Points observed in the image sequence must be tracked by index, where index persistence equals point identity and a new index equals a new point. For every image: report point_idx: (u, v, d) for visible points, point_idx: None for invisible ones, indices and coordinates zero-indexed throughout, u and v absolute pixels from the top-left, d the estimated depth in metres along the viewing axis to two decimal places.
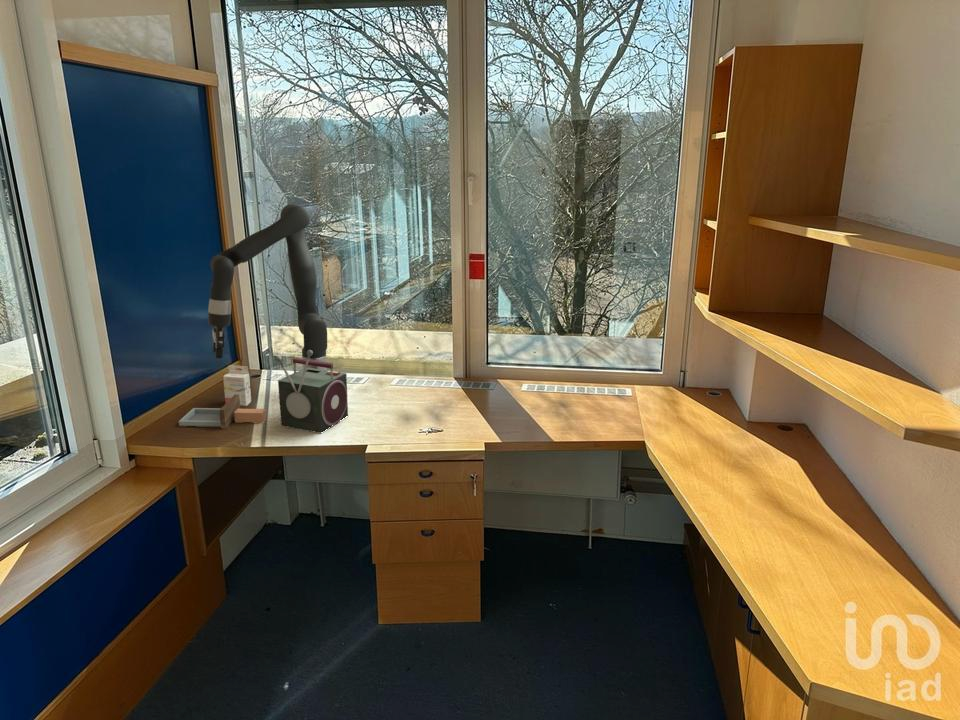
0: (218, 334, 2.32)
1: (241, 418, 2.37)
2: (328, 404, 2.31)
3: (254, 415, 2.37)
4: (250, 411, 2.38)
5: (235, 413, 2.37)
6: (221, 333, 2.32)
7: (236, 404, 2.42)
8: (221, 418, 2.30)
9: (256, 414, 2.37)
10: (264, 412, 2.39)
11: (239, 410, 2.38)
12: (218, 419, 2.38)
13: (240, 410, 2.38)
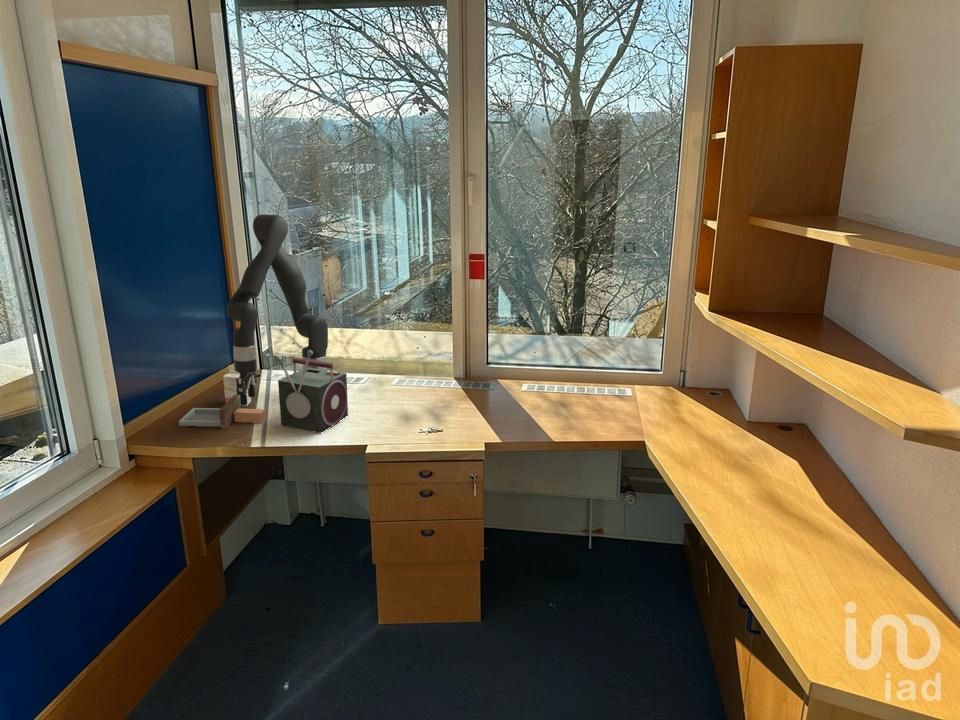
0: (237, 381, 2.28)
1: (240, 418, 2.37)
2: (328, 404, 2.31)
3: (253, 415, 2.37)
4: (250, 411, 2.38)
5: (235, 413, 2.37)
6: (240, 380, 2.28)
7: (236, 404, 2.42)
8: (221, 418, 2.30)
9: (256, 414, 2.36)
10: (264, 412, 2.39)
11: (239, 410, 2.39)
12: (218, 419, 2.38)
13: (240, 410, 2.38)
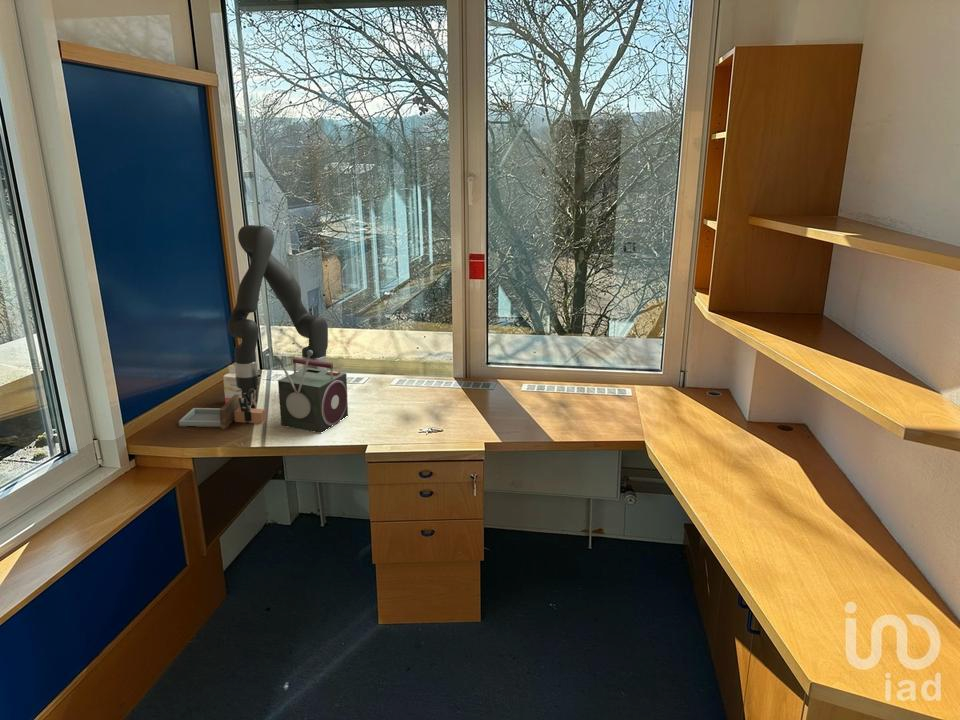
0: (240, 401, 2.30)
1: (240, 417, 2.37)
2: (328, 404, 2.31)
3: (253, 415, 2.36)
4: None
5: (235, 412, 2.37)
6: (242, 400, 2.30)
7: (236, 404, 2.42)
8: (221, 418, 2.30)
9: (255, 414, 2.36)
10: (264, 412, 2.38)
11: (240, 409, 2.39)
12: (218, 419, 2.38)
13: (240, 409, 2.38)
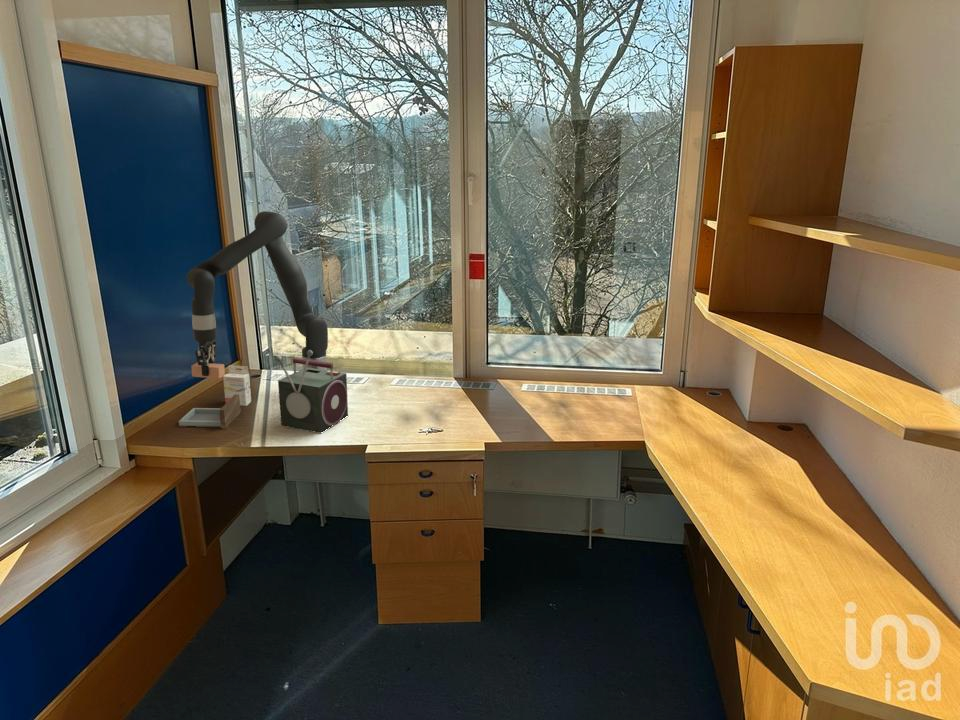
0: (196, 354, 2.25)
1: (198, 372, 2.31)
2: (328, 404, 2.31)
3: (210, 369, 2.31)
4: (208, 365, 2.32)
5: (192, 366, 2.31)
6: (199, 353, 2.24)
7: (236, 404, 2.42)
8: (221, 418, 2.30)
9: (213, 368, 2.30)
10: (222, 367, 2.33)
11: (197, 364, 2.33)
12: (218, 419, 2.38)
13: None
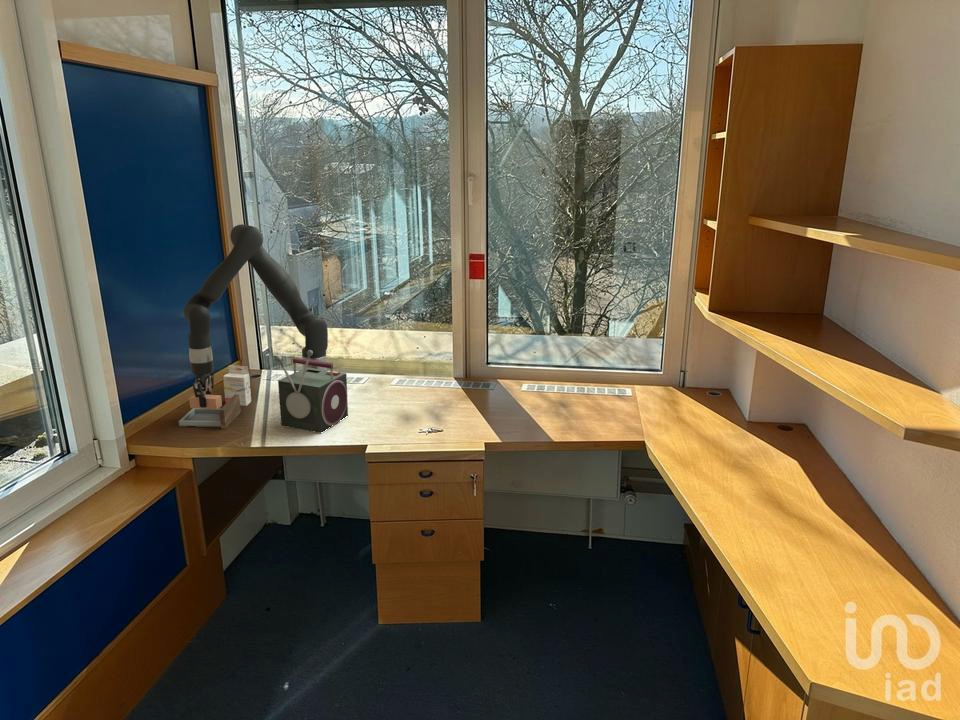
0: (193, 387, 2.29)
1: (195, 403, 2.35)
2: (328, 404, 2.31)
3: (208, 401, 2.35)
4: None
5: (190, 398, 2.35)
6: (196, 386, 2.28)
7: (236, 404, 2.42)
8: (221, 418, 2.30)
9: (210, 400, 2.34)
10: (219, 398, 2.37)
11: None
12: (218, 419, 2.38)
13: None
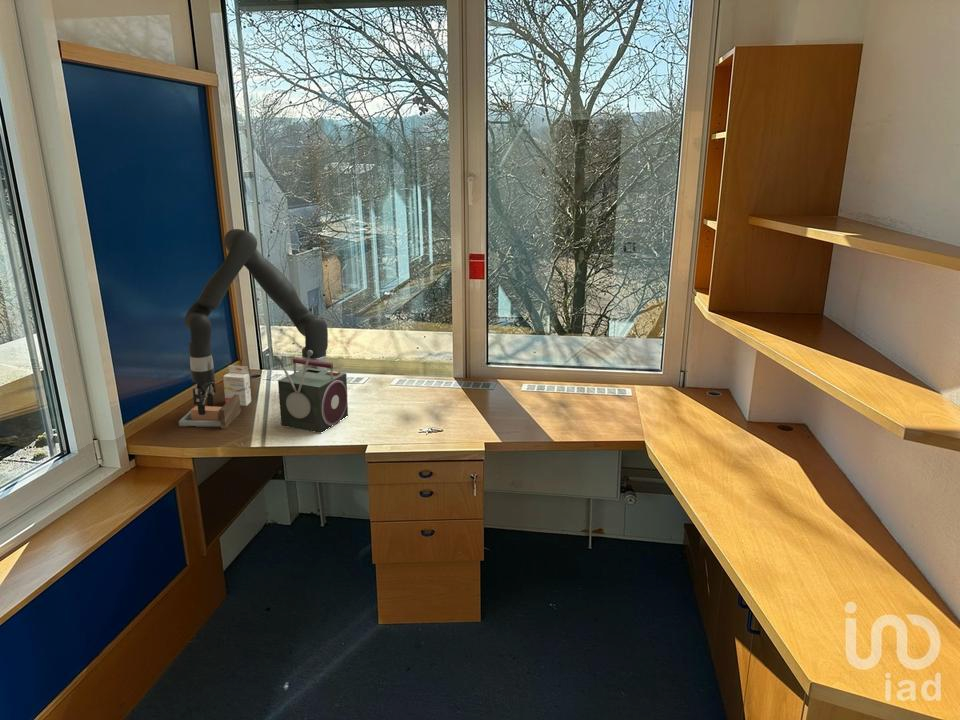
0: (194, 392, 2.29)
1: (197, 415, 2.37)
2: (328, 404, 2.31)
3: (210, 413, 2.36)
4: (207, 408, 2.37)
5: (191, 410, 2.36)
6: (196, 391, 2.29)
7: (236, 404, 2.42)
8: (221, 418, 2.30)
9: (212, 412, 2.36)
10: None
11: (196, 407, 2.38)
12: None
13: (197, 408, 2.38)
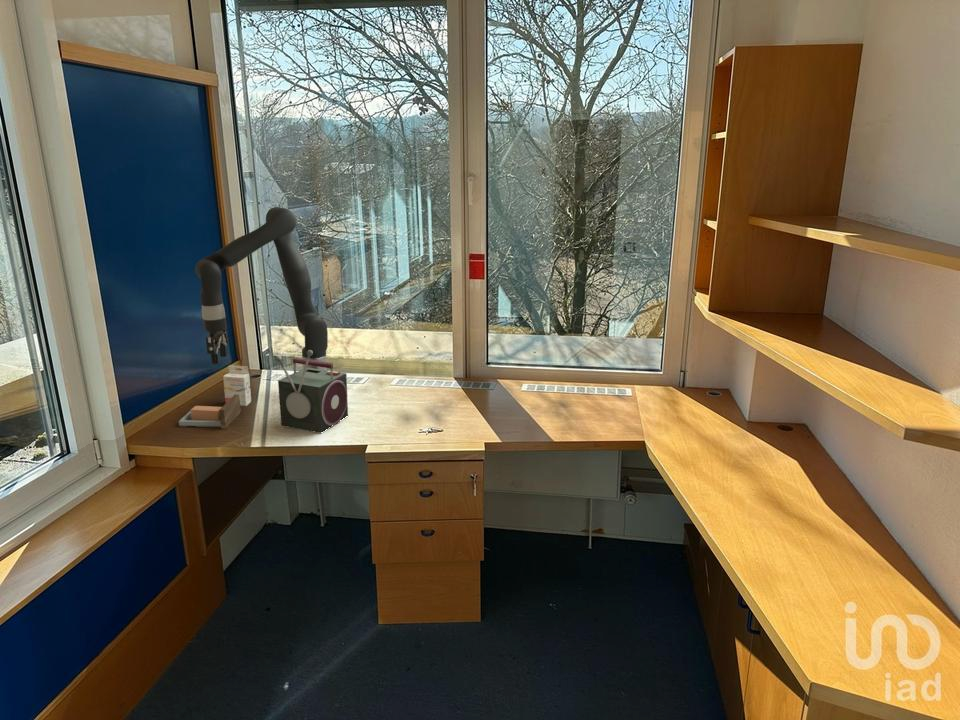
0: (207, 340, 2.29)
1: (197, 415, 2.37)
2: (328, 404, 2.31)
3: (210, 413, 2.36)
4: (207, 408, 2.37)
5: (191, 410, 2.36)
6: (209, 339, 2.29)
7: (236, 404, 2.42)
8: (221, 418, 2.30)
9: (212, 412, 2.36)
10: None
11: (196, 407, 2.38)
12: None
13: (197, 408, 2.38)
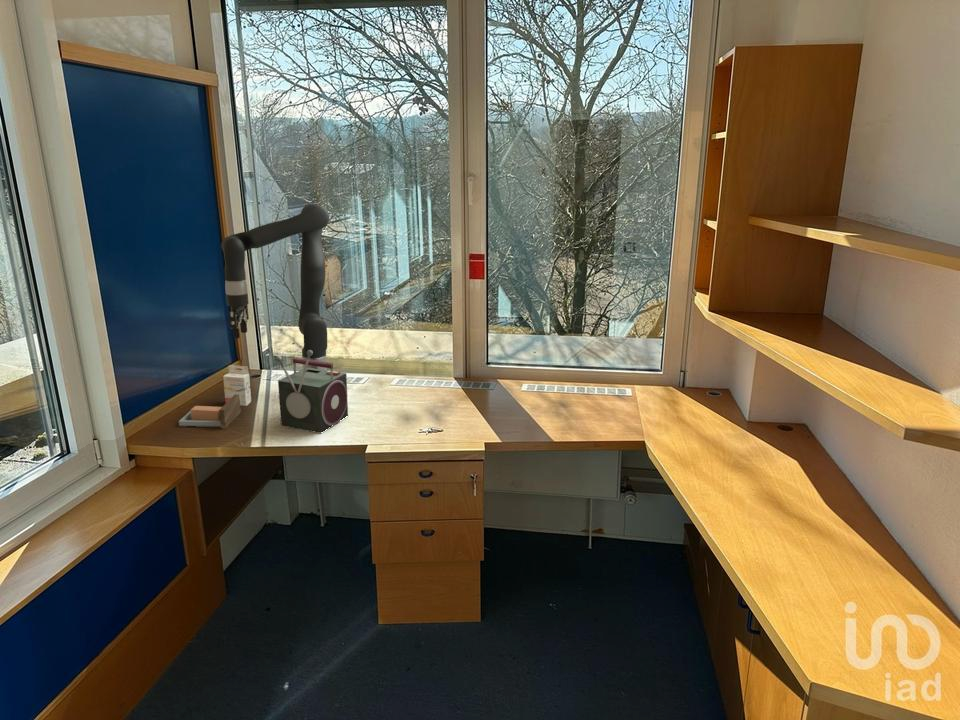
0: (229, 314, 2.35)
1: (197, 415, 2.37)
2: (328, 404, 2.31)
3: (210, 413, 2.36)
4: (207, 408, 2.37)
5: (191, 410, 2.36)
6: (232, 313, 2.35)
7: (236, 404, 2.42)
8: (221, 418, 2.30)
9: (212, 412, 2.36)
10: None
11: (196, 407, 2.38)
12: None
13: (197, 408, 2.38)
